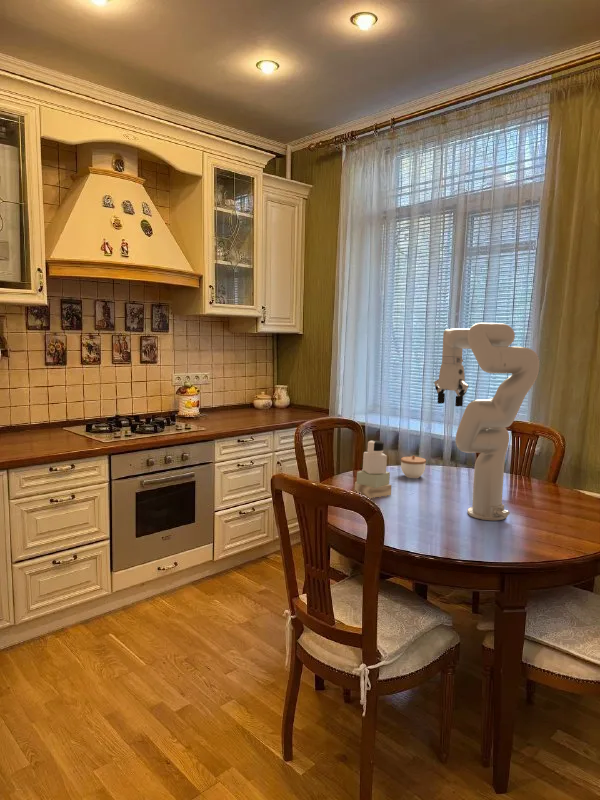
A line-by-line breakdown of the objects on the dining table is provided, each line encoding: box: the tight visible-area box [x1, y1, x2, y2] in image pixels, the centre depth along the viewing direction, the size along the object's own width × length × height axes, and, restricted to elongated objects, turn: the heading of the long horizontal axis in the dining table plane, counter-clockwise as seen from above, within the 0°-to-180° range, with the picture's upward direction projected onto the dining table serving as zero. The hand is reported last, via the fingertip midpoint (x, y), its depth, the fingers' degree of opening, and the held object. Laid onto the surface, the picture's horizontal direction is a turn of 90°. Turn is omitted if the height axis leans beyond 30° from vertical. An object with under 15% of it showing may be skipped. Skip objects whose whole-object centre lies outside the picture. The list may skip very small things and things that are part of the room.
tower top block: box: [356, 469, 391, 488], centre depth 214 cm, size 9×9×4 cm
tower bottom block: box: [354, 481, 392, 500], centre depth 215 cm, size 10×10×4 cm
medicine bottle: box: [362, 440, 388, 474], centre depth 213 cm, size 7×7×12 cm
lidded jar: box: [400, 455, 427, 479], centre depth 242 cm, size 11×11×9 cm
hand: (449, 404), depth 218 cm, fingers open, 9 cm apart
